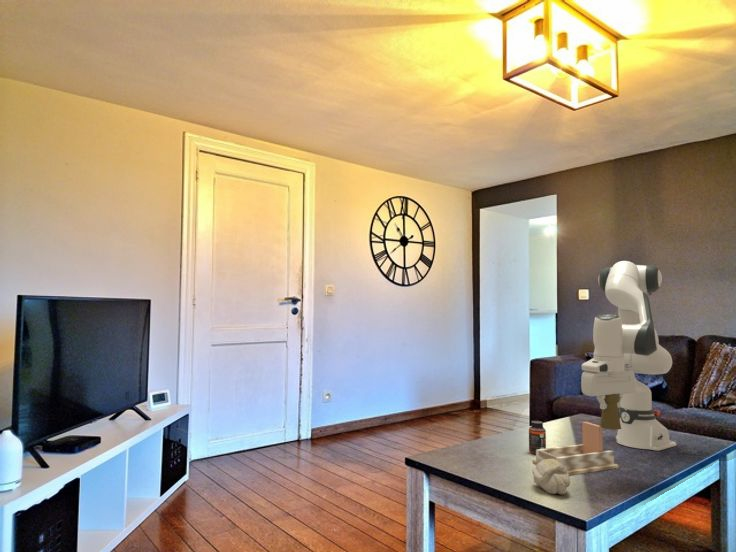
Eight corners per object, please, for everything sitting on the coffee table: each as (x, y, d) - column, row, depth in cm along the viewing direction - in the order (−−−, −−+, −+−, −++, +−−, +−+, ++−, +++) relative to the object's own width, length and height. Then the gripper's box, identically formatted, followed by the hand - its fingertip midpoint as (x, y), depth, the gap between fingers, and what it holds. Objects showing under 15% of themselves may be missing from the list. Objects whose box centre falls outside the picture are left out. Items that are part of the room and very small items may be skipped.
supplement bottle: (547, 456, 173) (546, 424, 174) (530, 454, 174) (529, 423, 175) (544, 451, 179) (544, 420, 180) (528, 450, 180) (527, 419, 181)
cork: (596, 424, 155) (595, 390, 156) (614, 424, 156) (613, 390, 156) (606, 429, 149) (605, 394, 150) (625, 429, 150) (624, 394, 150)
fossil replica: (555, 501, 132) (579, 497, 137) (558, 470, 132) (582, 468, 137) (522, 483, 143) (544, 481, 147) (525, 455, 143) (547, 453, 148)
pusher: (586, 456, 169) (585, 421, 170) (603, 462, 162) (602, 426, 163) (582, 456, 168) (582, 422, 169) (599, 462, 162) (598, 426, 163)
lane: (585, 456, 173) (585, 442, 174) (618, 468, 160) (618, 452, 161) (532, 463, 164) (532, 448, 165) (562, 476, 151) (562, 460, 152)
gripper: (623, 362, 160) (625, 404, 160) (577, 365, 153) (578, 408, 152) (640, 364, 155) (642, 407, 154) (593, 367, 147) (594, 412, 146)
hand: (610, 408), depth 153 cm, fingers closed on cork, 4 cm apart
